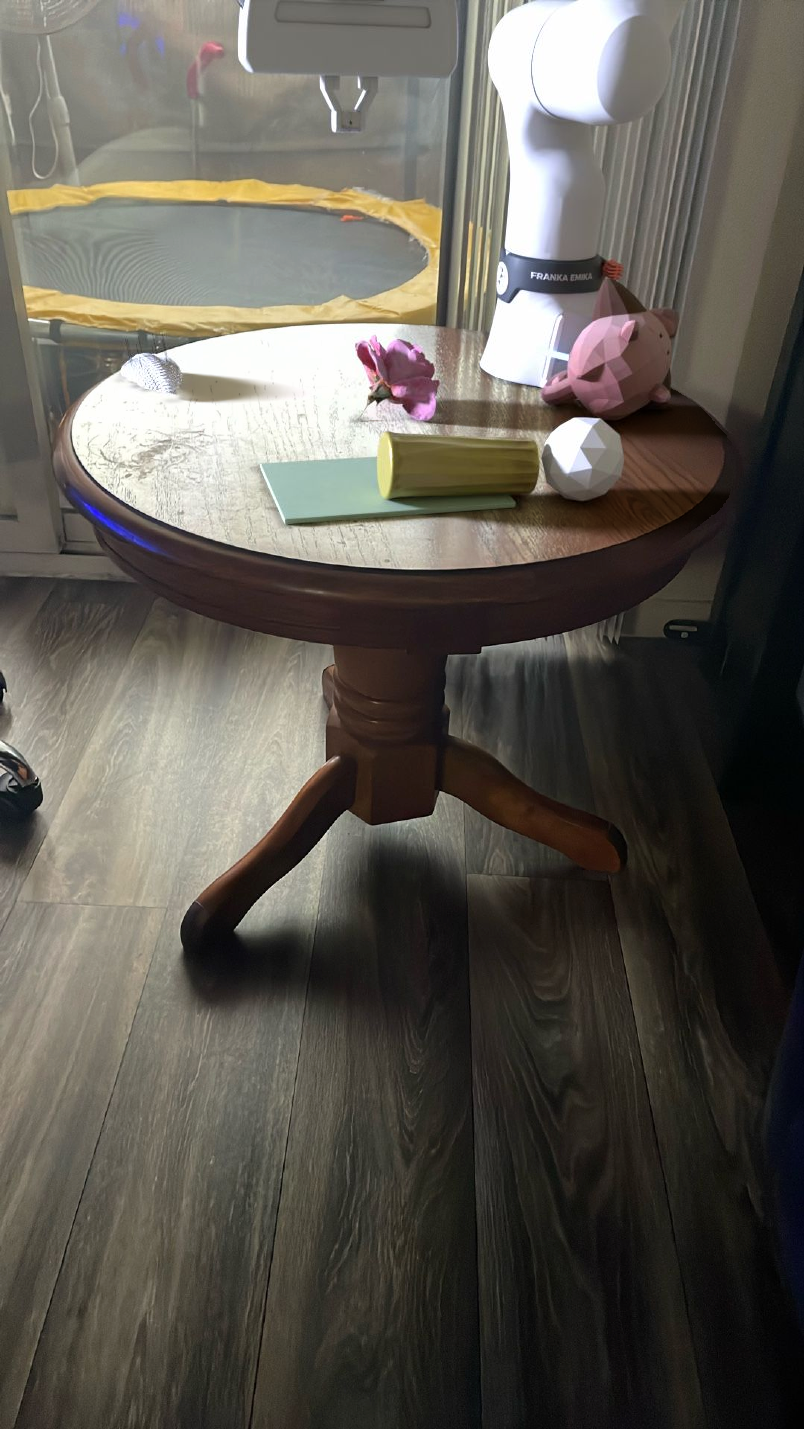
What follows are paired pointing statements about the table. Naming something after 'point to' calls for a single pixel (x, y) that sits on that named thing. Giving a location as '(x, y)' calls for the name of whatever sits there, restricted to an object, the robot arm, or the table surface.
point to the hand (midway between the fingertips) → (348, 132)
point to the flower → (399, 376)
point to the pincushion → (153, 371)
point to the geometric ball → (583, 458)
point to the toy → (618, 358)
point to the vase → (455, 465)
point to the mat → (353, 493)
